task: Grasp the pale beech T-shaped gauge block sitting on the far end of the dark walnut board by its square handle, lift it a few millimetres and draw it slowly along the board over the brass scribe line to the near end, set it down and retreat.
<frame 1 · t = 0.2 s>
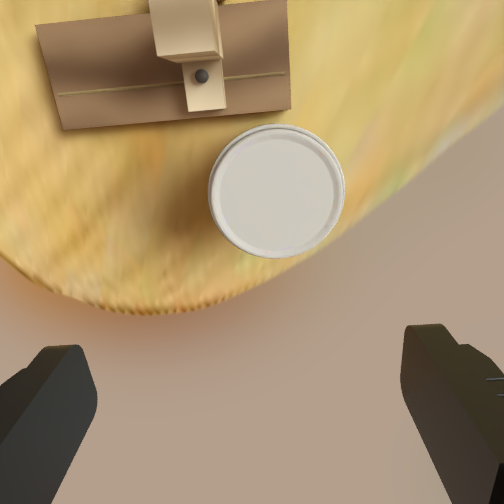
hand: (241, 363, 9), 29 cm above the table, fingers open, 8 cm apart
gauge: (200, 37, 30), point 2 cm above the table, touching board
board: (172, 69, 33), on the table
coffee cup: (271, 165, 36), on the table
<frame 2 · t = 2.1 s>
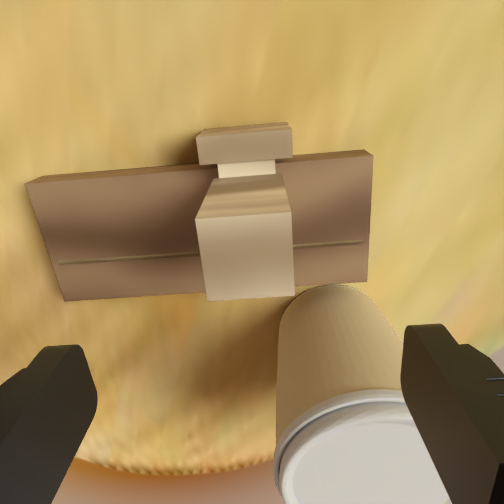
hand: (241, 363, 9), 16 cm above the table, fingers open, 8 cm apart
gauge: (250, 200, 22), point 2 cm above the table, touching board
board: (208, 223, 25), on the table
coffee cup: (329, 326, 28), on the table
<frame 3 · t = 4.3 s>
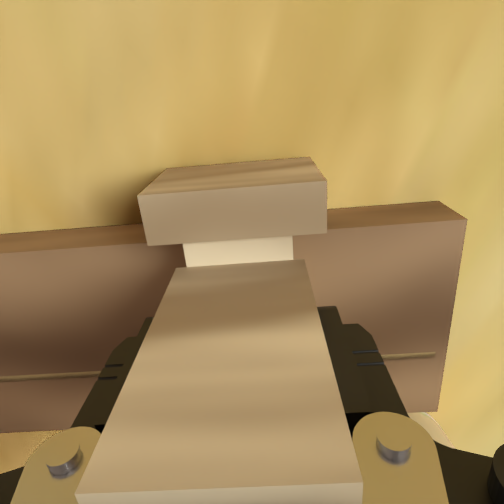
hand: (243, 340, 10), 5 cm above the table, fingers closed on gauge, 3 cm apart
gauge: (246, 290, 13), point 2 cm above the table, touching board, gripper
board: (179, 313, 15), on the table
coffee cup: (366, 451, 19), on the table
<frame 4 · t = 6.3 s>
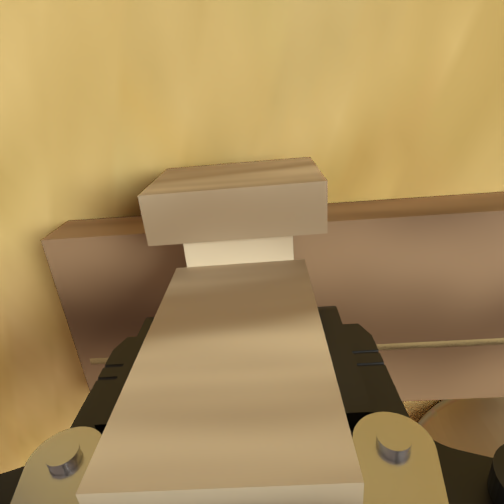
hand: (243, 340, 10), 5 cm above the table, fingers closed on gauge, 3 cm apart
gauge: (247, 290, 13), point 3 cm above the table, touching gripper
board: (327, 295, 16), on the table
coffee cup: (482, 436, 19), on the table
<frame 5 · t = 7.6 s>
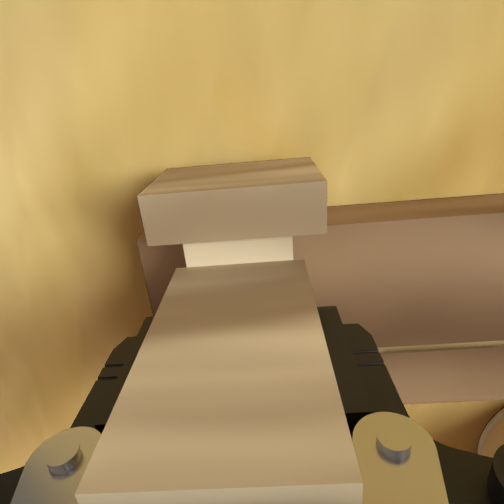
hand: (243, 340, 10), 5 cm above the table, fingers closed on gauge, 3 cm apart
gauge: (246, 290, 13), point 2 cm above the table, touching gripper
board: (408, 293, 15), on the table
when the fingers open (5 cm above the table, at t = 8.5 s): gauge stays where it is, resting on board.
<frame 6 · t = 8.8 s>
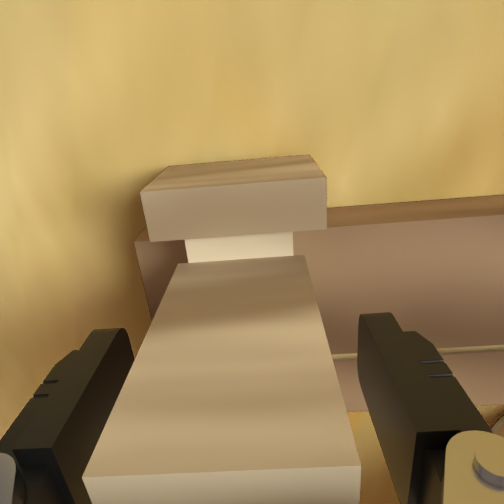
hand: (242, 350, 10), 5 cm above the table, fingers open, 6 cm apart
gauge: (247, 286, 13), point 2 cm above the table, touching board
board: (411, 296, 15), on the table
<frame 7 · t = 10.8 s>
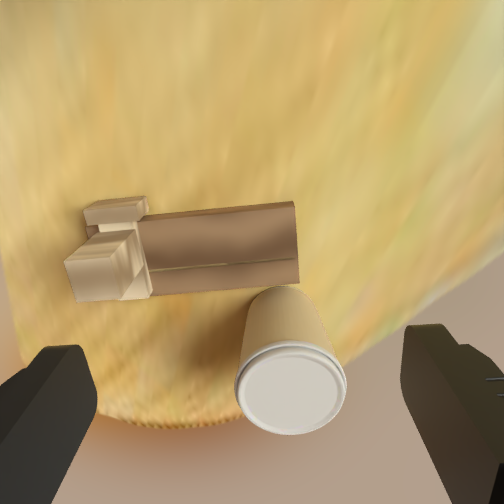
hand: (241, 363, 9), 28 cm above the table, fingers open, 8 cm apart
gauge: (126, 242, 36), point 2 cm above the table, touching board
board: (198, 248, 39), on the table
coffee cup: (282, 315, 42), on the table
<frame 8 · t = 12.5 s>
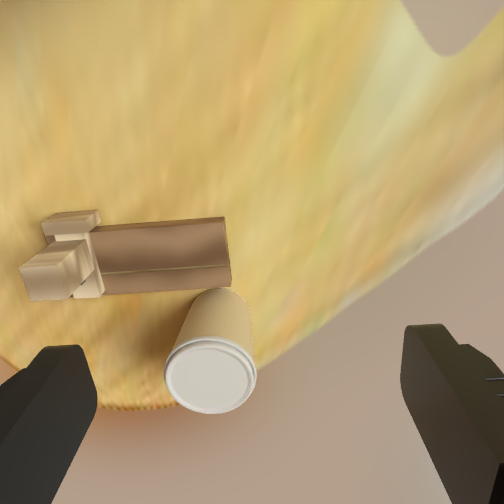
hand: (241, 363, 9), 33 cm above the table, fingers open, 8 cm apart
gauge: (80, 249, 42), point 2 cm above the table, touching board
board: (145, 254, 45), on the table
coffee cup: (220, 313, 48), on the table
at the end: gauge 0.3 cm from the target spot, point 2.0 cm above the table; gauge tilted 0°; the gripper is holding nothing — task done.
